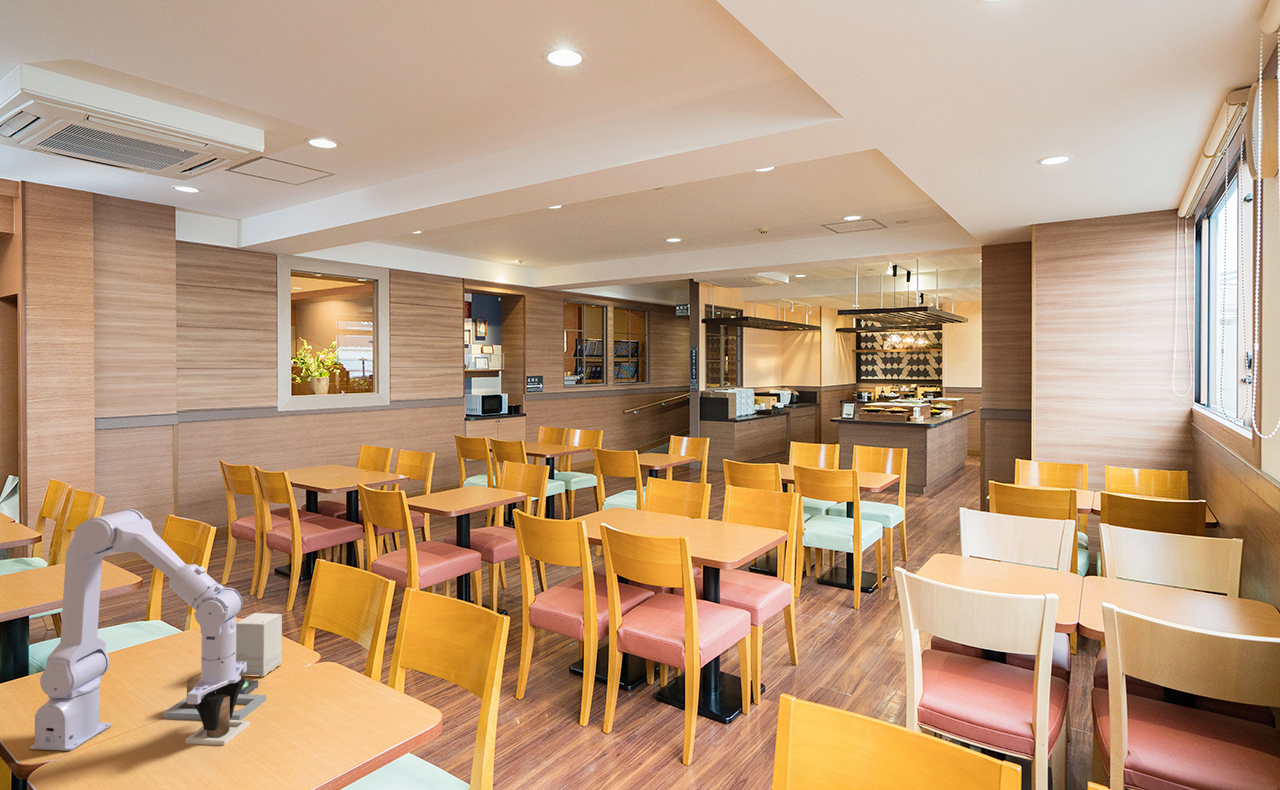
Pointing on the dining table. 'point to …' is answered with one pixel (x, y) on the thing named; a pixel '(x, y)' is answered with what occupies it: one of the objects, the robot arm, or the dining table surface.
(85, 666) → the robot arm
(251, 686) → the switch box
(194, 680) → the cylinder
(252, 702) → the grey frame
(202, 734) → the white square tray
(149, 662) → the dining table surface
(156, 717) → the dining table surface
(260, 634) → the supplement box
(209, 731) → the cylinder
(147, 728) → the dining table surface
